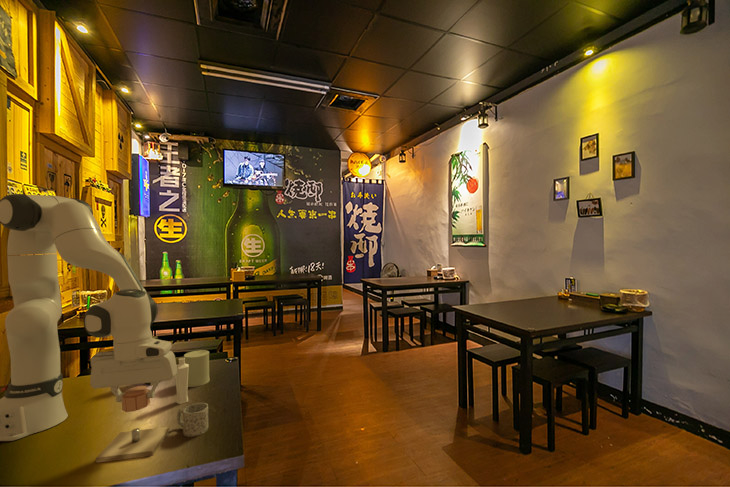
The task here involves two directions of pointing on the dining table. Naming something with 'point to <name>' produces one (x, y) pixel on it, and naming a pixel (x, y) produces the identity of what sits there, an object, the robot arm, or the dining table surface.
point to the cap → (135, 399)
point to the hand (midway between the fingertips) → (136, 399)
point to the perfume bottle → (182, 381)
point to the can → (197, 367)
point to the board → (133, 445)
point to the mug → (194, 419)
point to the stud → (135, 435)
